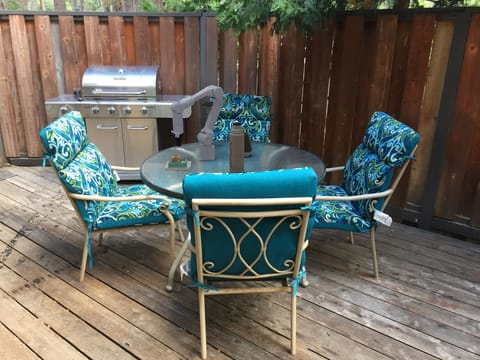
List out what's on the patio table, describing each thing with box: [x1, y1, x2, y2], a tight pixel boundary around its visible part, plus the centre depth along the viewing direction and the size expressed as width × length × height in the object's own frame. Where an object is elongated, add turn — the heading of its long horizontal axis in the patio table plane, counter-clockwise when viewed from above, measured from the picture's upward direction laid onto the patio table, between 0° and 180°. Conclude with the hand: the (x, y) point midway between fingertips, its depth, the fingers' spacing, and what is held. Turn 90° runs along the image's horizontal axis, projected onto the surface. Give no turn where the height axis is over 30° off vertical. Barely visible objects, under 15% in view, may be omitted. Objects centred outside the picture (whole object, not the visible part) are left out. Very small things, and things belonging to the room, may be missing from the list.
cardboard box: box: [171, 154, 182, 163], centre depth 232 cm, size 4×6×5 cm
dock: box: [164, 158, 192, 171], centre depth 235 cm, size 14×12×4 cm
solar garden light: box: [200, 101, 214, 144], centre depth 270 cm, size 12×12×30 cm
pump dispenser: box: [243, 131, 253, 158], centre depth 254 cm, size 10×10×15 cm
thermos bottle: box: [229, 121, 245, 174], centre depth 221 cm, size 8×8×28 cm
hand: (179, 146), depth 239 cm, fingers closed
